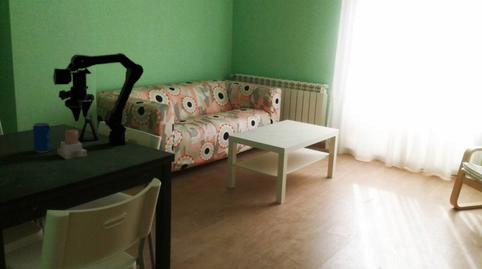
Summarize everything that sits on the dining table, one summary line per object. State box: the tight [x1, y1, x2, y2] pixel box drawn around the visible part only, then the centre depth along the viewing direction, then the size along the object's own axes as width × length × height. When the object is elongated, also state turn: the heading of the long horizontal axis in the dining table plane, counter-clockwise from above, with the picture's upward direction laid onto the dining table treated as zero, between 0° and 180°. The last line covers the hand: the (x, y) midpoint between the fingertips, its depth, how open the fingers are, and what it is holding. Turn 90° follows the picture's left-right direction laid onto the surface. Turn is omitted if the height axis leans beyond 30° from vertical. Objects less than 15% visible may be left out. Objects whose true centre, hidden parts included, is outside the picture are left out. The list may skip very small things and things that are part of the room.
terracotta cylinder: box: [64, 129, 79, 144], centre depth 187 cm, size 5×5×5 cm
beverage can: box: [32, 122, 52, 154], centre depth 190 cm, size 6×6×12 cm
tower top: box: [60, 140, 83, 153], centre depth 188 cm, size 7×7×3 cm
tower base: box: [57, 147, 88, 160], centre depth 189 cm, size 9×9×3 cm
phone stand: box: [78, 113, 100, 142], centre depth 213 cm, size 9×6×12 cm, turn 103°
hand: (80, 119), depth 197 cm, fingers open, 9 cm apart
